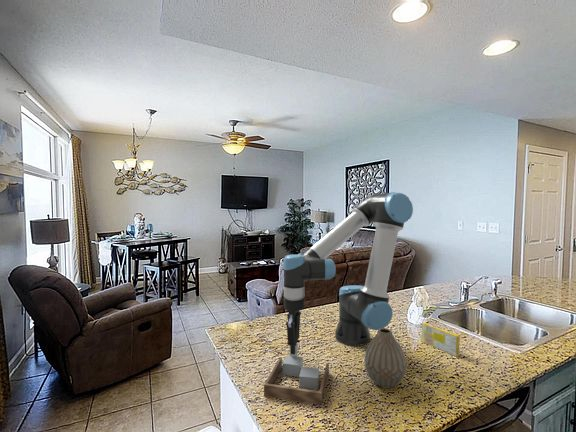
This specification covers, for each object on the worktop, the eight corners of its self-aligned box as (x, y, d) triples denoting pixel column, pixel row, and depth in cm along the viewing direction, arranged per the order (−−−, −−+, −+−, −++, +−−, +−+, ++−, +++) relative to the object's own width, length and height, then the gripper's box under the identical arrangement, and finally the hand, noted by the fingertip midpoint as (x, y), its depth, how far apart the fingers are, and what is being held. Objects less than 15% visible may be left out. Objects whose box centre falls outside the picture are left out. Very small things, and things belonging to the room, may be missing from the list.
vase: (400, 399, 94) (401, 342, 93) (358, 386, 100) (359, 333, 100) (409, 378, 105) (410, 327, 104) (371, 368, 112) (371, 320, 111)
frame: (328, 373, 108) (328, 363, 108) (321, 405, 91) (321, 393, 91) (279, 366, 113) (279, 357, 112) (264, 396, 95) (263, 384, 95)
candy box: (459, 356, 120) (460, 335, 120) (456, 357, 119) (456, 336, 119) (424, 340, 134) (424, 321, 134) (420, 341, 133) (421, 322, 133)
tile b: (302, 368, 112) (302, 357, 112) (299, 377, 106) (299, 365, 106) (286, 365, 113) (286, 355, 113) (282, 374, 108) (282, 363, 107)
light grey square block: (319, 379, 105) (319, 368, 104) (317, 390, 99) (317, 378, 98) (301, 378, 106) (301, 366, 105) (299, 388, 100) (299, 376, 99)
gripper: (288, 291, 120) (288, 351, 121) (278, 302, 107) (278, 368, 108) (307, 293, 118) (307, 354, 119) (299, 303, 105) (299, 371, 106)
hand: (293, 361), depth 113 cm, fingers closed
